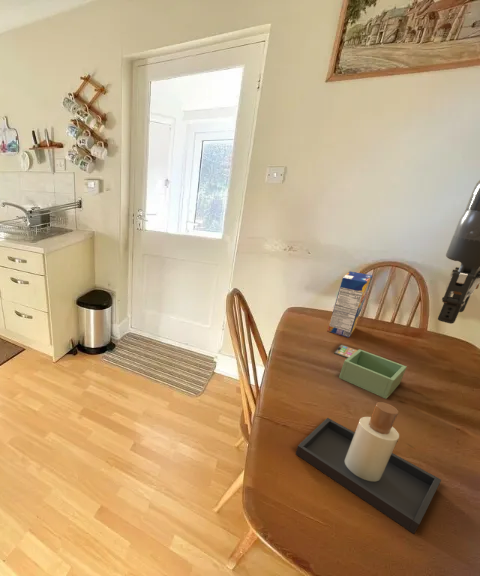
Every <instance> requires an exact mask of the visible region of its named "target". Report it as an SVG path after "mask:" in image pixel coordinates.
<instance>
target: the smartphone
mask: <svg viewBox="0 0 480 576" xmlns="http://www.w3.org/2000/svg"><path fill="white" fill-rule="evenodd" d="M358 350H359V349H355V348H352V347H350V346H347V345H344V344H340V345H339V346H338V348H336V350H335V351H334V352H333V354H334V355H336V356H340V357H342V358H346V359H347V358H349V357H350V356H351V355H352V354H354V353H355V352H356V351H358Z"/></svg>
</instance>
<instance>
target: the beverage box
mask: <svg viewBox="0 0 480 576" xmlns="http://www.w3.org/2000/svg"><path fill="white" fill-rule="evenodd" d="M373 276H374V275H372V274H368V273H367V274H366V273H361V272H357V271H351V270H349V271H348V272H347V273H346V274H345V275H344V276H343V277H342V279H341V282H340V285H339V289H338V293H337V296H336V299H335V303H334V306H333V309H332V313H331V317H330V320H329V323H328V326H327V330H326V331H327V333H328V332H329V333H332V334H334V335H339V336H341V337H344V338H348V339H349V338H350V337H351V336H352V334H353V333H354V331H355V329H356V328H357V324H358V321H359V318H360V315H361V312H362V309H363V306H364V303H365V300H366V296H367V293H368V290H369V288H370V285H371V282H372V278H373Z"/></svg>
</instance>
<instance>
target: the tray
mask: <svg viewBox="0 0 480 576" xmlns="http://www.w3.org/2000/svg"><path fill="white" fill-rule="evenodd" d="M354 433H355V431H353V430H351V429H349V428H347V427H346V426H344V425H342V424H340V423H339V422H337V421H334V420H333V419H331V418H329V417H326V418H325V420H323V421H322V423H320V424H319V425H318V426H317V427H316V428H314V430H313V431H311V433H309V435H307V436H306V437H305V438H304V439H303V440H302V441H301V442H300V443H299V444H298V445H297V447H296V451H295V455H296V456H297V457H299V458H300V459H301V460H303V461H304V462H306V463H308V465H311V466H312V467H314V468H315V469H316V470H318V471H319V472H321V473H323V474H324V475H326V476H327V477H329V478H330V479H332V480H333V481H335V482H336V483H337V484H339V485H340V486H341V487H343V488H344V489H346V490H347V491H349V492H351V494H354V495H356V497H358V498H359V499H361V500H363V501H364V502H365V503H367V504H369V505H370V506H372V507H373V508H374V509H376V510H377V511H379V512H381V513H382V514H383V515H385V516H386V517H388V518H389V519H391V520H392V521H394V522H395V523H397V524H398V525H400V526H401V527H403V528H404V529H406V530H407V531H409V532H410V533H411V534H413V535H415V534H416V531H417V530H418V528H419V526H420V525H421V522H422V520H423V518H424V517H425V514H426V512H427V511H428V508H429V506H430V504H431V502H432V500H433V498H434V496H435V494H436V492H437V490H438V488H439V486H440V483H441V482H442V479H441V478H439V477H437V476H436V475H434V474H432V473H430V472H428V471H427V470H424V469H423V468H421V467H419V466H417V465H415V464H413V463H412V462H410V461H408V460H407V459H404V458H402V457H401V456H399V455H397V454H396V453H394V452H392V455H391V457H390V459H389V461H388V464H387V466H386V468H385V470H384V472H383V475H382V477H381V479H380V480H379V481H376V482H372V481H367V480H364V479H362V478H360V477H358V476H356V475H355V474H354V473H352V472H351V471H350V470H349V469H348V468H347V466H346V465H345V457H346V455H347V452H348V449H349V447H350V444H351V441H352V439H353V436H354Z"/></svg>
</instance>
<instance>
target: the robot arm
mask: <svg viewBox="0 0 480 576" xmlns="http://www.w3.org/2000/svg"><path fill="white" fill-rule="evenodd" d="M445 257H446V258H447V259H448V260H451V261H454V262H459V263H460V266H458V267H457V266H456V267H454V269H452V271H451V272H450V275H449V278H450V279H449V281H448V282H447V285H446V286H445V293H444V296H443V297H442V299H441V300H442V303H443V305H442V306H441V309H440V312H439V313H438V317H437V320H438V321H439V322H443V323H446V324H454V323H455V322H456V320H457V317H458V316H459V313H462V312H464V311H465V309H466V307H467V305H468V302H469V300H470V298H471V297H472V296H473V294H474V293H475V291H476V290H478V289H479V287H480V179H479V180H478V181H477V182H476V183H475V186H474V187H473V190H472V191H471V194H470V197H469V199H468V202H467V204H466V207H465V210H464V211H463V214H462V215H461V216H460V219H459V221H458V223H457V224H456V228H455V231H454V233H453V235H452V238H451V240H450V243H449V245H448V248H447V251H446V253H445Z"/></svg>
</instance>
